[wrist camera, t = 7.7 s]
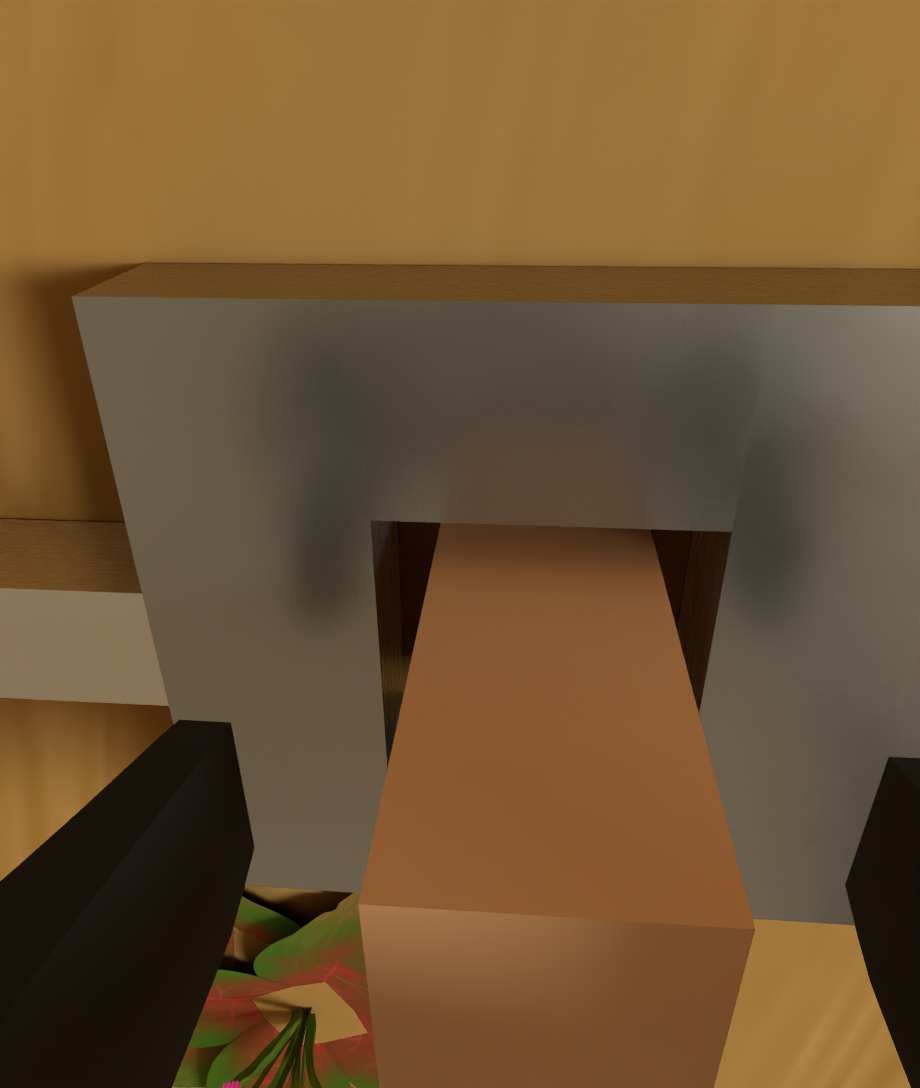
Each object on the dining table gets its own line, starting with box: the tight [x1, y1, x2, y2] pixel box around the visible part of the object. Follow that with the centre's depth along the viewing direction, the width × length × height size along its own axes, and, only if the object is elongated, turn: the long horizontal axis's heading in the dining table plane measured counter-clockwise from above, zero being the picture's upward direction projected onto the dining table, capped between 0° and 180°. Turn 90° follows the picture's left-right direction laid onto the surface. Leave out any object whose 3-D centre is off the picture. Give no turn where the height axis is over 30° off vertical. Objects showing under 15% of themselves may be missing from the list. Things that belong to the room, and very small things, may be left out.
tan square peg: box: [358, 523, 755, 1088], centre depth 10 cm, size 3×3×7 cm
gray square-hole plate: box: [0, 263, 920, 925], centre depth 12 cm, size 16×10×2 cm, turn 90°
